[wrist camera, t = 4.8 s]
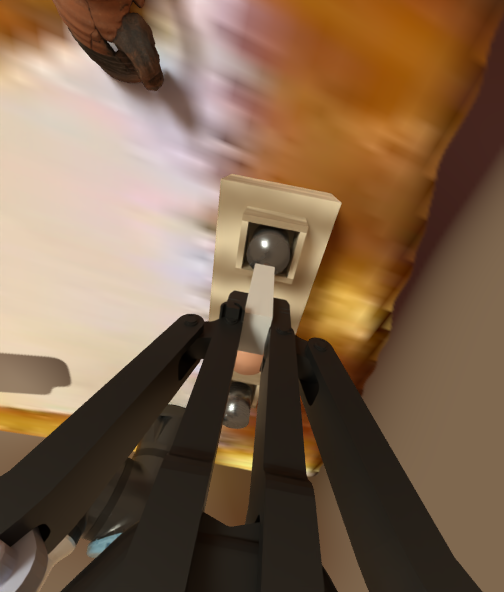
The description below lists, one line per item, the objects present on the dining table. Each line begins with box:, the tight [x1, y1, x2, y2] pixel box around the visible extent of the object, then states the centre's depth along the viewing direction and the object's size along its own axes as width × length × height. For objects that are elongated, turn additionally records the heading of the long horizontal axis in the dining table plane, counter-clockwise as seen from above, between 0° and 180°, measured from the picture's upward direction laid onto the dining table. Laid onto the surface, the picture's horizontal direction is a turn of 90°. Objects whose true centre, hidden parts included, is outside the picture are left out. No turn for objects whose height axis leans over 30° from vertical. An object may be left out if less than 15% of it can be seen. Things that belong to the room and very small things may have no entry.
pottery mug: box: [53, 0, 164, 91], centre depth 21 cm, size 12×10×8 cm
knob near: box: [247, 224, 290, 275], centre depth 24 cm, size 4×4×4 cm
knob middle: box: [234, 351, 264, 375], centre depth 27 cm, size 4×4×4 cm
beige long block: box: [209, 174, 341, 408], centre depth 33 cm, size 32×12×10 cm, turn 171°
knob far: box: [223, 382, 252, 429], centre depth 33 cm, size 4×4×4 cm
